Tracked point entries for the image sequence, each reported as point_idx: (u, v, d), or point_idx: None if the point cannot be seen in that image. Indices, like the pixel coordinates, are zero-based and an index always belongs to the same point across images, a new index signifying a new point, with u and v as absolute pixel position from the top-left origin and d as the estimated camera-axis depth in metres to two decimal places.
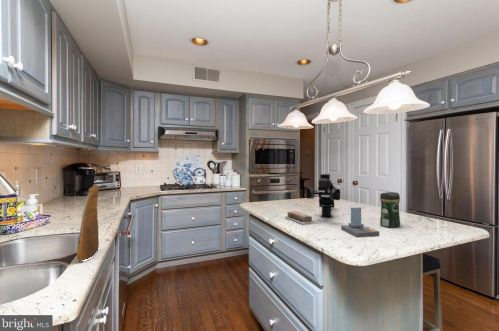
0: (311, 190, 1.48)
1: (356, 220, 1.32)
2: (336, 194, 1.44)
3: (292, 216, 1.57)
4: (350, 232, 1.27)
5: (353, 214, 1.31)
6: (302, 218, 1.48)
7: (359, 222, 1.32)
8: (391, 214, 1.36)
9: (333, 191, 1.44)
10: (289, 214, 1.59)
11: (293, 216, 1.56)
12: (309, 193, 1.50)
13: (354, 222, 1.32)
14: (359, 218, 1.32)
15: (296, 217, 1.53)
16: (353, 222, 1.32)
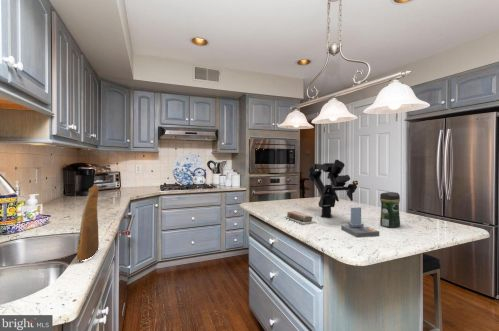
0: (333, 190, 1.43)
1: (356, 220, 1.32)
2: (352, 190, 1.47)
3: (292, 216, 1.56)
4: (350, 232, 1.27)
5: (353, 214, 1.31)
6: (302, 218, 1.48)
7: (359, 222, 1.32)
8: (391, 214, 1.36)
9: (351, 190, 1.45)
10: (289, 214, 1.59)
11: (293, 216, 1.55)
12: (329, 191, 1.45)
13: (354, 222, 1.32)
14: (359, 218, 1.32)
15: (296, 217, 1.53)
16: (353, 222, 1.32)
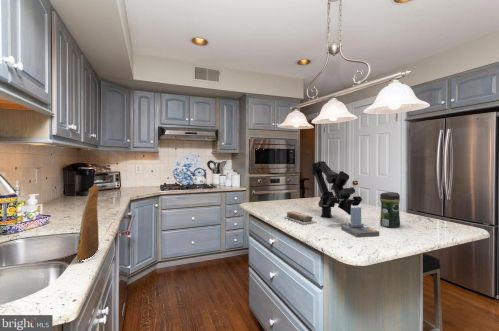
0: (344, 203, 1.40)
1: (356, 220, 1.32)
2: None
3: (292, 216, 1.56)
4: (350, 232, 1.27)
5: (353, 214, 1.31)
6: (303, 218, 1.48)
7: (359, 222, 1.32)
8: (391, 214, 1.36)
9: (350, 203, 1.40)
10: (288, 214, 1.59)
11: (293, 216, 1.55)
12: (340, 204, 1.41)
13: (354, 222, 1.32)
14: (359, 218, 1.32)
15: (296, 217, 1.53)
16: (353, 222, 1.32)
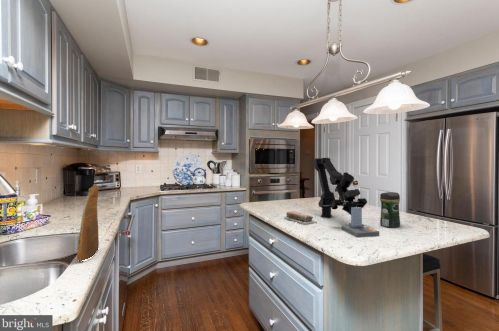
0: (349, 205, 1.35)
1: (356, 220, 1.31)
2: None
3: (292, 216, 1.56)
4: (350, 232, 1.27)
5: (353, 214, 1.31)
6: (304, 218, 1.48)
7: (359, 222, 1.32)
8: (391, 214, 1.36)
9: (355, 205, 1.36)
10: (288, 214, 1.58)
11: (293, 216, 1.55)
12: (345, 206, 1.37)
13: (354, 222, 1.31)
14: (359, 218, 1.32)
15: (297, 217, 1.52)
16: (353, 222, 1.31)
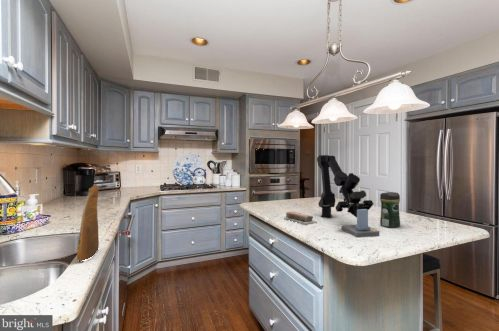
0: (354, 207, 1.30)
1: (363, 223, 1.26)
2: (361, 208, 1.33)
3: (292, 216, 1.55)
4: (350, 232, 1.27)
5: (359, 216, 1.26)
6: (304, 218, 1.48)
7: (366, 225, 1.27)
8: (391, 214, 1.36)
9: (360, 207, 1.31)
10: (288, 215, 1.58)
11: (293, 216, 1.55)
12: (350, 209, 1.32)
13: (360, 225, 1.26)
14: (365, 221, 1.27)
15: (297, 217, 1.52)
16: (359, 225, 1.26)
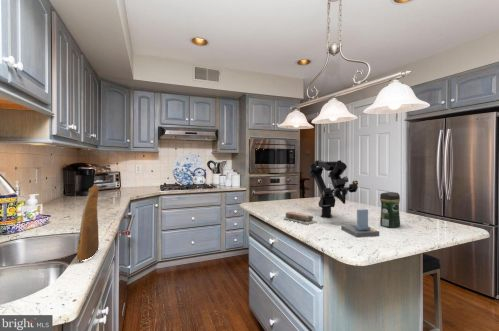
0: (338, 193, 1.44)
1: (363, 223, 1.26)
2: (346, 192, 1.45)
3: (292, 217, 1.55)
4: (350, 232, 1.27)
5: (359, 216, 1.26)
6: (305, 218, 1.48)
7: (366, 225, 1.27)
8: (391, 214, 1.36)
9: (344, 192, 1.44)
10: (288, 215, 1.57)
11: (293, 217, 1.54)
12: (335, 194, 1.46)
13: (360, 225, 1.26)
14: (365, 221, 1.27)
15: (297, 217, 1.52)
16: (359, 225, 1.26)
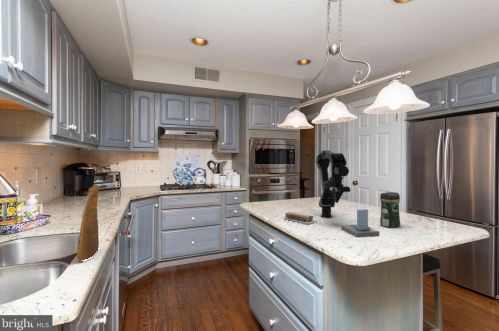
0: (331, 192, 1.48)
1: (363, 223, 1.26)
2: (339, 192, 1.43)
3: (292, 217, 1.55)
4: (350, 232, 1.27)
5: (359, 216, 1.26)
6: (306, 218, 1.48)
7: (366, 225, 1.27)
8: (391, 214, 1.36)
9: (334, 193, 1.44)
10: (288, 215, 1.57)
11: (293, 217, 1.54)
12: None
13: (360, 225, 1.26)
14: (365, 221, 1.27)
15: (297, 217, 1.52)
16: (359, 225, 1.26)
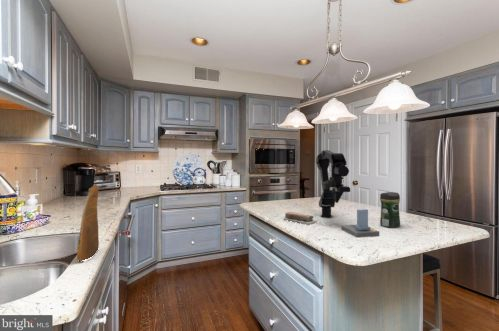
0: (331, 192, 1.48)
1: (363, 223, 1.26)
2: (339, 192, 1.43)
3: (292, 217, 1.54)
4: (350, 232, 1.27)
5: (359, 216, 1.26)
6: (306, 218, 1.48)
7: (366, 225, 1.27)
8: (391, 214, 1.36)
9: (334, 193, 1.44)
10: (287, 215, 1.56)
11: (293, 217, 1.54)
12: None
13: (360, 225, 1.26)
14: (365, 221, 1.27)
15: (298, 218, 1.52)
16: (359, 225, 1.26)
